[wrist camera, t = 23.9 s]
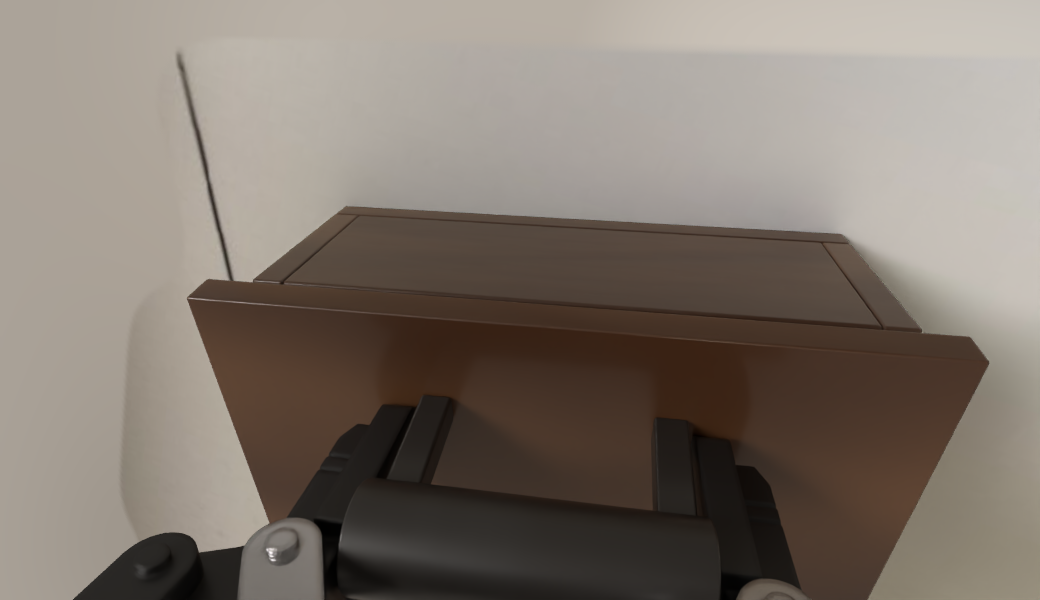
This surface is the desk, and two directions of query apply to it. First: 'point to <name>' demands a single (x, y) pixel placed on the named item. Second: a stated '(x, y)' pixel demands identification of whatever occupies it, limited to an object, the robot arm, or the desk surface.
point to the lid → (580, 436)
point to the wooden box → (596, 266)
